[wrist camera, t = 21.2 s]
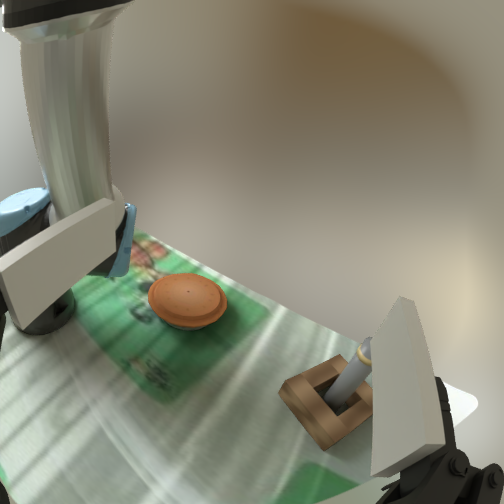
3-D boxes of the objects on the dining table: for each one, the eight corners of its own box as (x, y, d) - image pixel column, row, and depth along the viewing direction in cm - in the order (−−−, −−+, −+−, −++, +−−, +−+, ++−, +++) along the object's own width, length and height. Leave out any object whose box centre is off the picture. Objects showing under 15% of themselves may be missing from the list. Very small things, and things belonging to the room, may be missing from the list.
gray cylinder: (313, 402, 42) (357, 342, 34) (329, 393, 44) (373, 333, 36) (327, 418, 40) (376, 361, 32) (342, 408, 42) (391, 350, 34)
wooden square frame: (277, 393, 43) (285, 380, 41) (330, 366, 50) (339, 353, 48) (323, 451, 34) (335, 442, 32) (373, 413, 41) (385, 402, 39)
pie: (239, 321, 56) (244, 303, 54) (173, 351, 46) (174, 332, 43) (197, 278, 65) (199, 261, 62) (136, 297, 54) (135, 278, 52)
